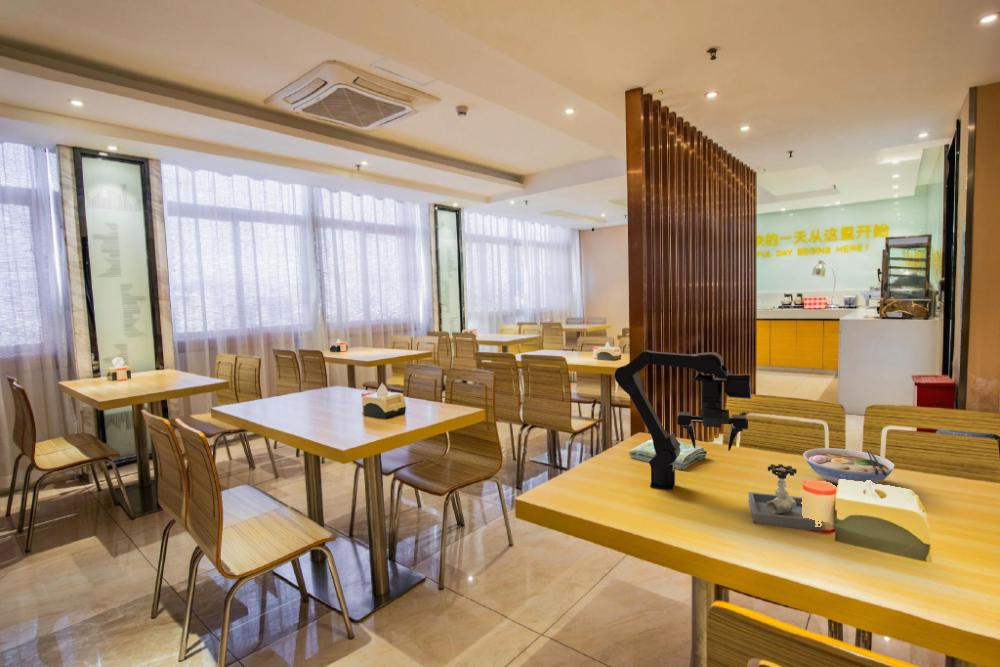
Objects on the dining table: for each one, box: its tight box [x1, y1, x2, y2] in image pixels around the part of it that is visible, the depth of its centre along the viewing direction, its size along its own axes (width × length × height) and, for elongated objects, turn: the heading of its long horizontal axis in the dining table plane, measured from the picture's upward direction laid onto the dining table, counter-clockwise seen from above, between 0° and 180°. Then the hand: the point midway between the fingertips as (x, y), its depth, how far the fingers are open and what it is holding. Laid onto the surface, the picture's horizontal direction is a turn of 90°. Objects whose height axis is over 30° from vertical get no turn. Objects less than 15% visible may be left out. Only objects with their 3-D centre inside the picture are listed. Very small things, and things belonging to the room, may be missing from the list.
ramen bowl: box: [802, 447, 896, 485], centre depth 153 cm, size 25×23×8 cm
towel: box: [628, 438, 708, 470], centre depth 182 cm, size 18×21×5 cm
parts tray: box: [747, 491, 824, 532], centre depth 133 cm, size 15×15×2 cm
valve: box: [767, 463, 797, 514], centre depth 132 cm, size 7×7×12 cm
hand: (711, 449), depth 148 cm, fingers open, 9 cm apart
